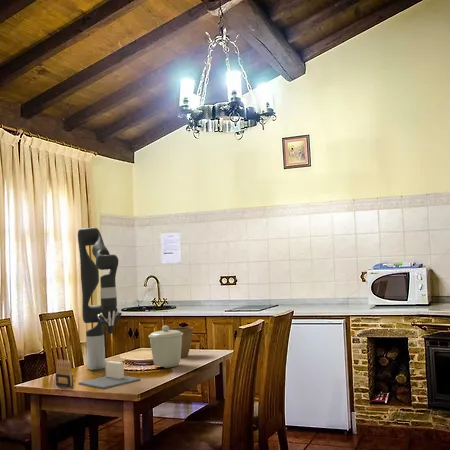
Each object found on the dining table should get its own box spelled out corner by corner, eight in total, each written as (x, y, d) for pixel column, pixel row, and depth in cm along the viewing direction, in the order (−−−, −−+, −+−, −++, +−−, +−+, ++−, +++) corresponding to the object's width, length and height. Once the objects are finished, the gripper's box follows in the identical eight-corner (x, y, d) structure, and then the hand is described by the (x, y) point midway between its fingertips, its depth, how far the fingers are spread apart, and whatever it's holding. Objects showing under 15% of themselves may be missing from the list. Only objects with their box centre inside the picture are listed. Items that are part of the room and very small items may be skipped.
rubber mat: (78, 384, 253) (78, 382, 253) (115, 375, 268) (115, 374, 268) (103, 389, 240) (103, 387, 240) (140, 380, 254) (140, 378, 254)
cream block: (118, 363, 256) (104, 361, 264) (118, 378, 256) (105, 376, 264) (123, 362, 259) (110, 360, 266) (124, 377, 258) (110, 375, 266)
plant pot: (196, 357, 308) (195, 328, 309) (170, 359, 305) (168, 330, 306) (192, 353, 323) (190, 325, 324) (166, 355, 319) (165, 328, 320)
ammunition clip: (73, 386, 249) (72, 359, 250) (69, 387, 248) (68, 360, 249) (59, 384, 256) (58, 358, 257) (55, 385, 254) (54, 358, 255)
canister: (179, 369, 275) (176, 327, 276) (144, 370, 278) (142, 328, 280) (188, 362, 292) (186, 322, 294) (156, 363, 296) (154, 323, 297)
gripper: (101, 298, 253) (102, 336, 252) (124, 295, 262) (126, 332, 261) (92, 298, 258) (93, 335, 257) (115, 295, 267) (117, 331, 266)
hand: (110, 333), depth 259 cm, fingers closed
